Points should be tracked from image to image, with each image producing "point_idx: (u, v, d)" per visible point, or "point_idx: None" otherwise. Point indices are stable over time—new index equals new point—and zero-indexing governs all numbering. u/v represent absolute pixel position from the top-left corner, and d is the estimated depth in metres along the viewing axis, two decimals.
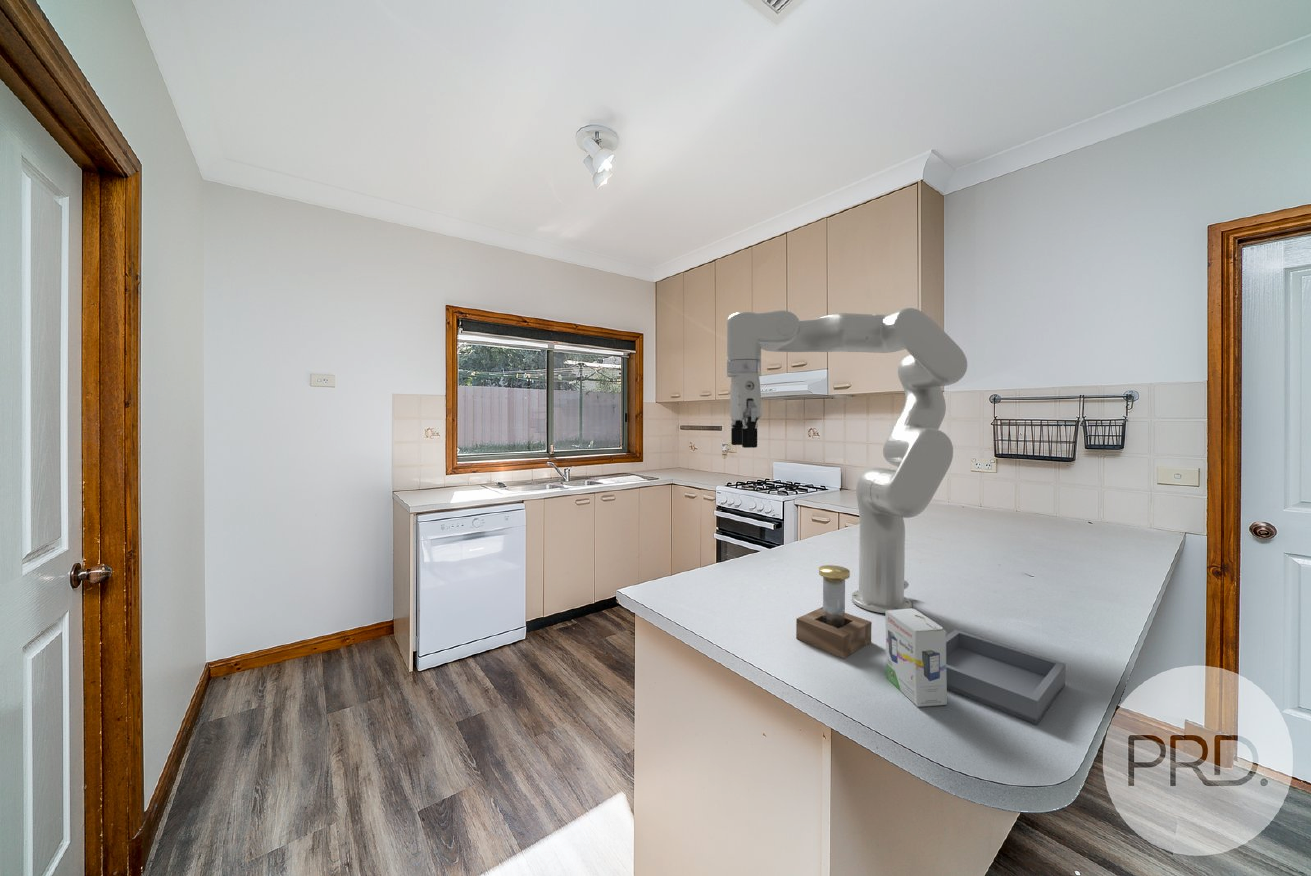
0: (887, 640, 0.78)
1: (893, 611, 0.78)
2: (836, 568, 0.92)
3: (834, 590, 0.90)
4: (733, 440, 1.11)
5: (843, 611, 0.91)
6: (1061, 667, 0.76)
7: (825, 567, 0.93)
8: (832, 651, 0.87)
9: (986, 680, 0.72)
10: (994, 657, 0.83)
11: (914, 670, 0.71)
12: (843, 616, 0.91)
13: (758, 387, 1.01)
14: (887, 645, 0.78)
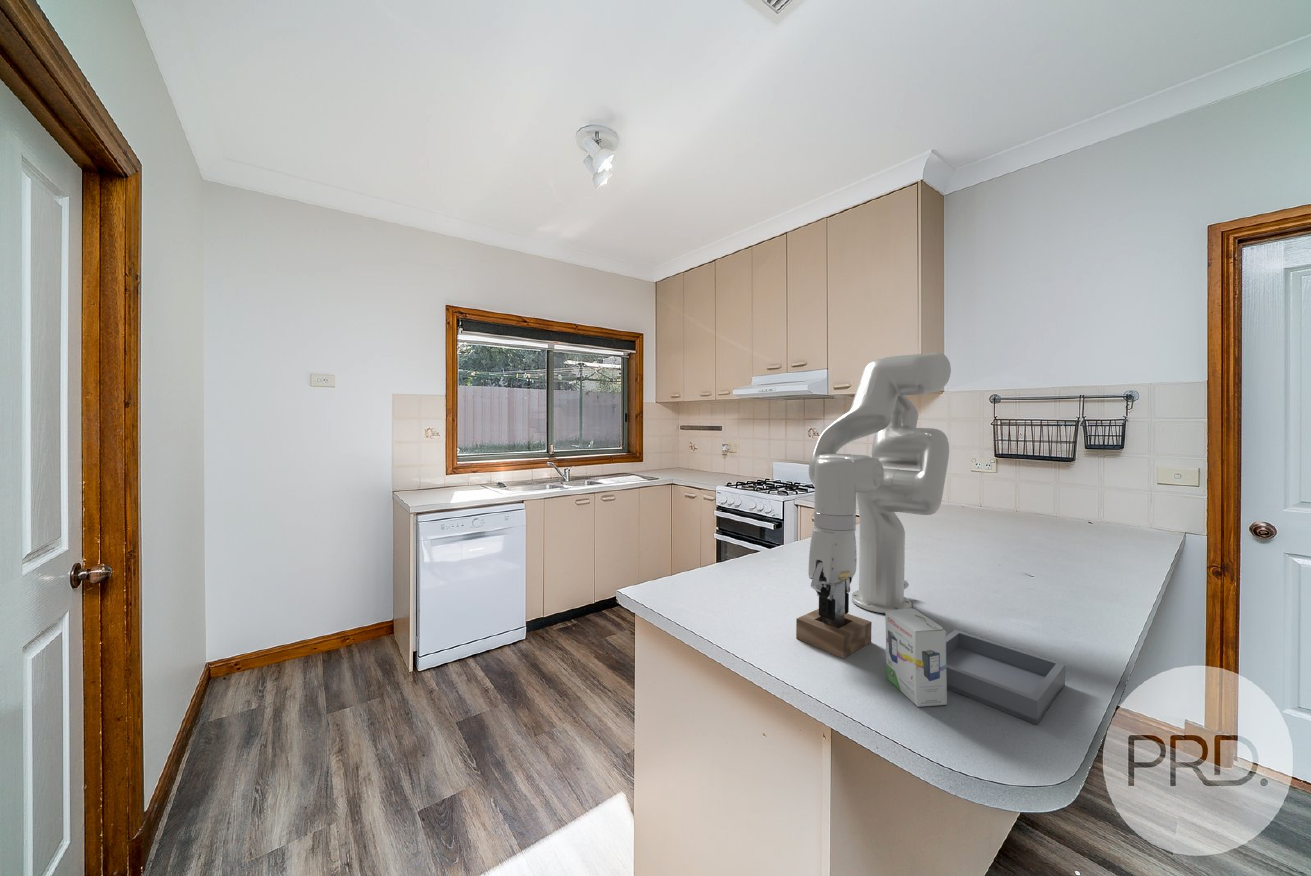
0: (887, 640, 0.78)
1: (893, 611, 0.78)
2: None
3: (834, 590, 0.90)
4: None
5: (843, 611, 0.91)
6: (1061, 667, 0.76)
7: None
8: (832, 651, 0.87)
9: (986, 680, 0.72)
10: (994, 657, 0.83)
11: (914, 670, 0.71)
12: (843, 616, 0.91)
13: None
14: (887, 645, 0.78)
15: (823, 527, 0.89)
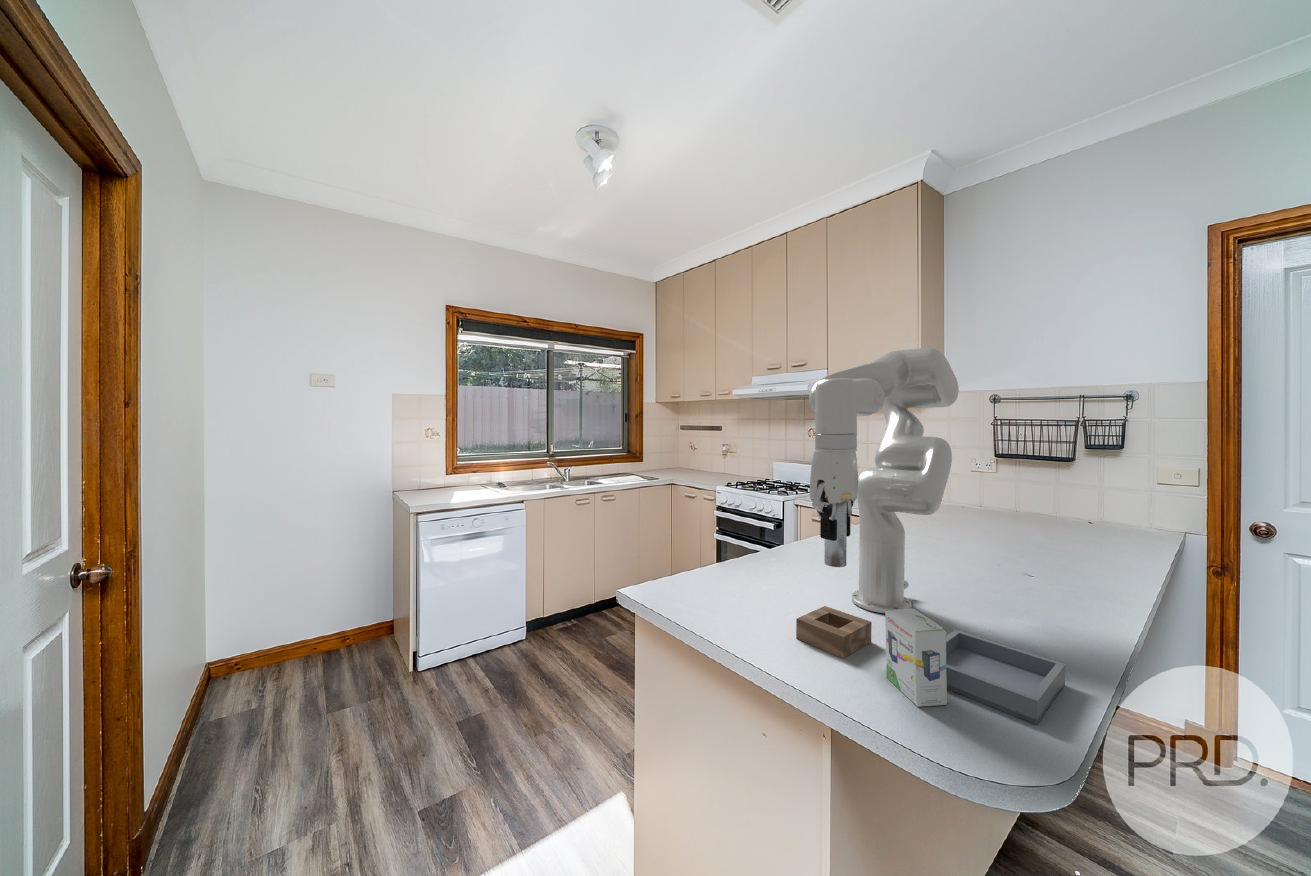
0: (887, 640, 0.78)
1: (893, 611, 0.78)
2: None
3: None
4: None
5: (845, 533, 0.90)
6: (1061, 667, 0.76)
7: None
8: (832, 651, 0.87)
9: (986, 680, 0.72)
10: (994, 657, 0.83)
11: (914, 670, 0.71)
12: (845, 538, 0.90)
13: None
14: (887, 645, 0.78)
15: (824, 447, 0.89)
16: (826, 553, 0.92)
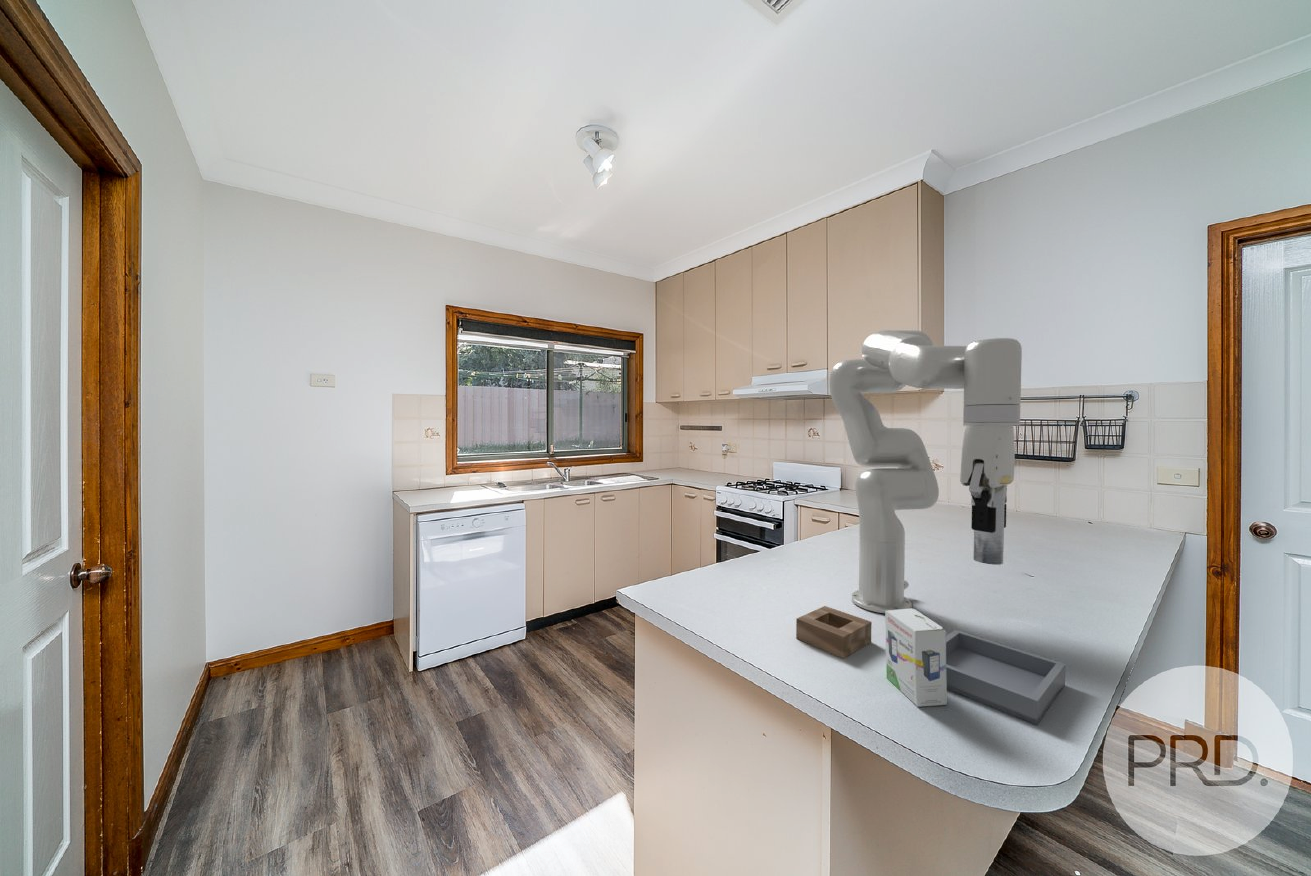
0: (887, 640, 0.78)
1: (893, 611, 0.78)
2: None
3: None
4: None
5: (1003, 524, 0.76)
6: (1061, 667, 0.76)
7: None
8: (832, 651, 0.87)
9: (986, 680, 0.72)
10: (994, 657, 0.83)
11: (913, 670, 0.71)
12: (1003, 530, 0.76)
13: None
14: (887, 645, 0.78)
15: (981, 420, 0.74)
16: (978, 548, 0.77)
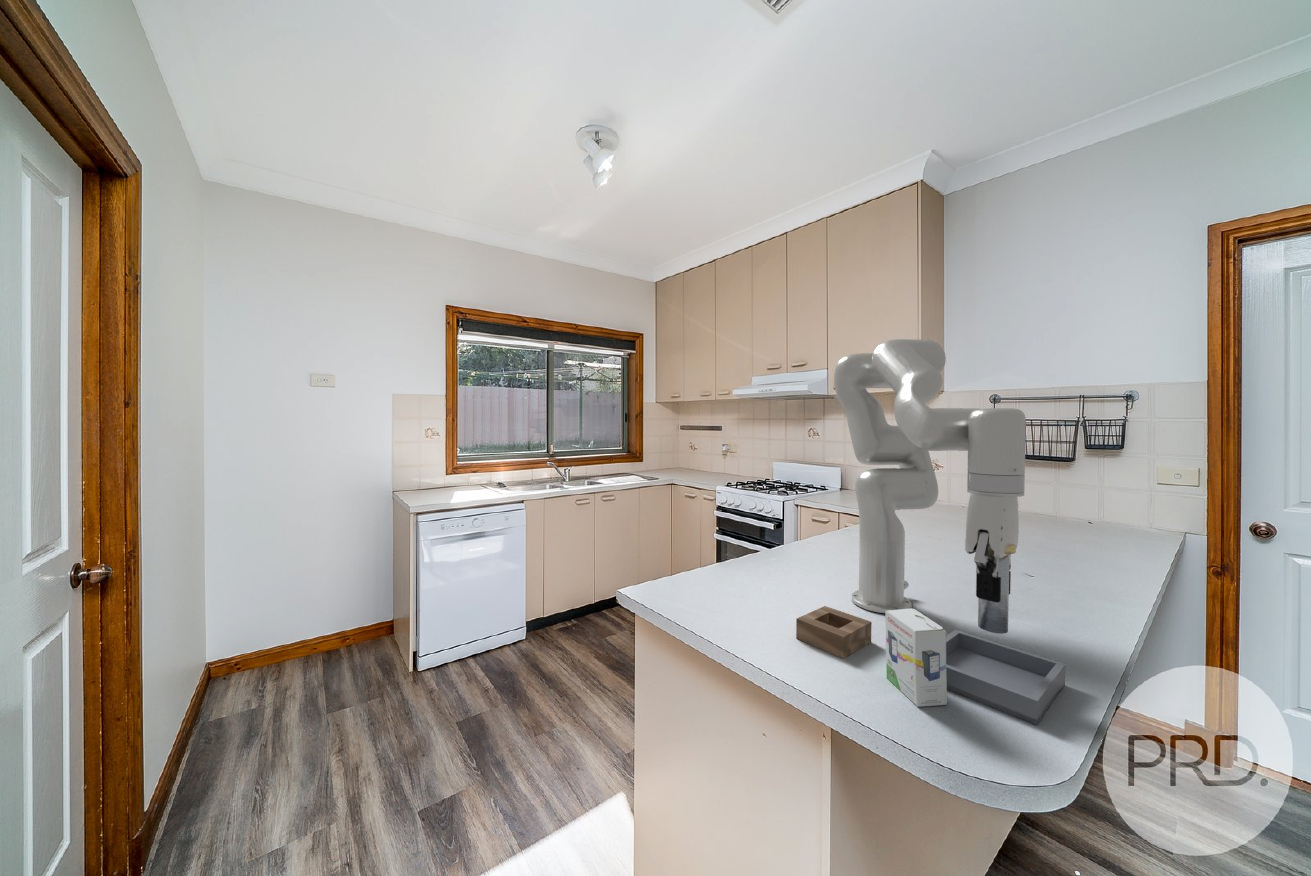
0: (887, 640, 0.78)
1: (893, 611, 0.78)
2: None
3: None
4: None
5: (1008, 592, 0.76)
6: (1061, 667, 0.76)
7: None
8: (832, 651, 0.87)
9: (986, 680, 0.72)
10: (994, 657, 0.83)
11: (914, 670, 0.71)
12: (1008, 599, 0.76)
13: None
14: (887, 645, 0.78)
15: (986, 490, 0.74)
16: (983, 615, 0.77)
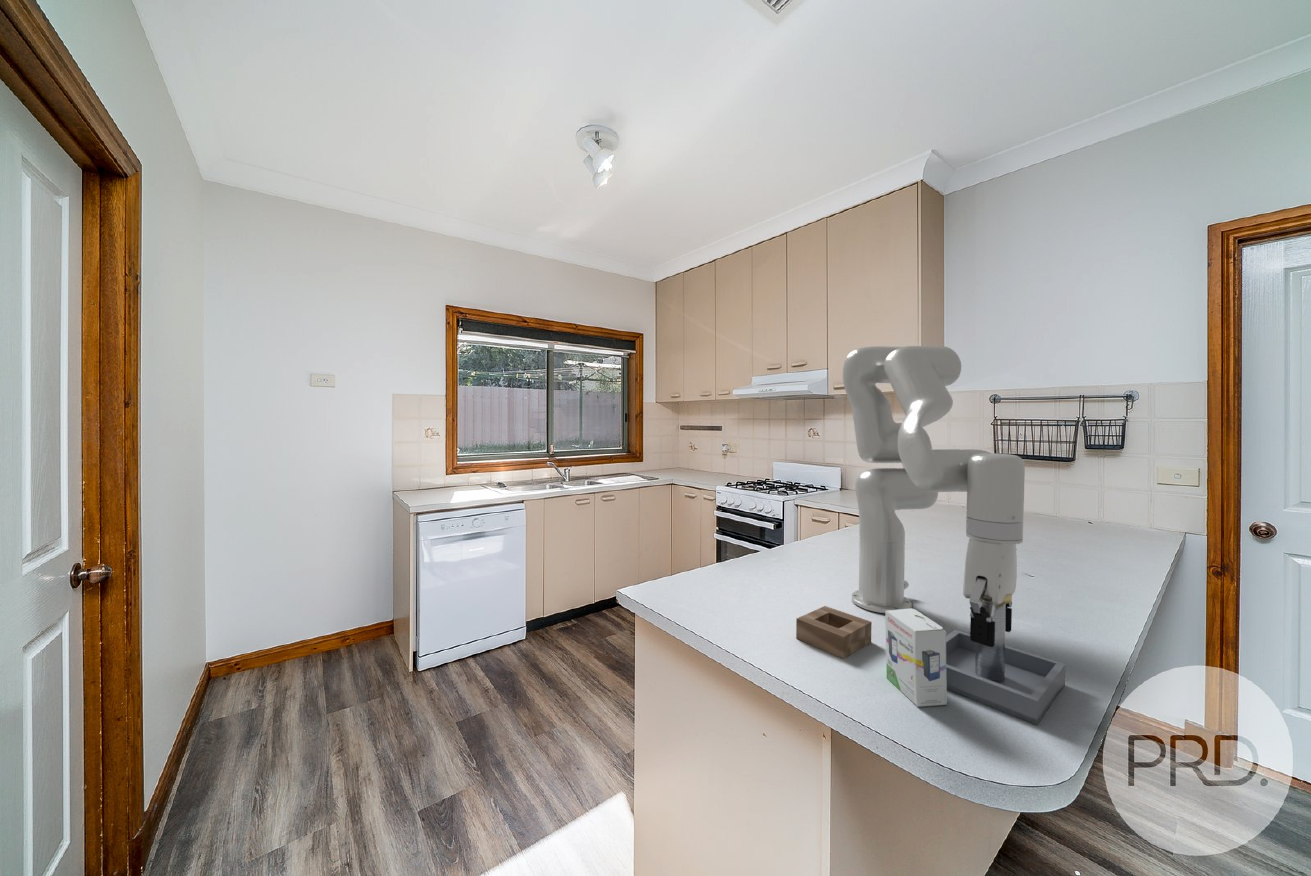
0: (887, 640, 0.78)
1: (893, 611, 0.78)
2: None
3: (994, 616, 0.76)
4: None
5: (1004, 641, 0.76)
6: (1061, 667, 0.76)
7: None
8: (832, 651, 0.87)
9: (986, 680, 0.72)
10: None
11: (914, 670, 0.71)
12: (1004, 647, 0.76)
13: None
14: (887, 645, 0.78)
15: (985, 536, 0.75)
16: (980, 663, 0.77)
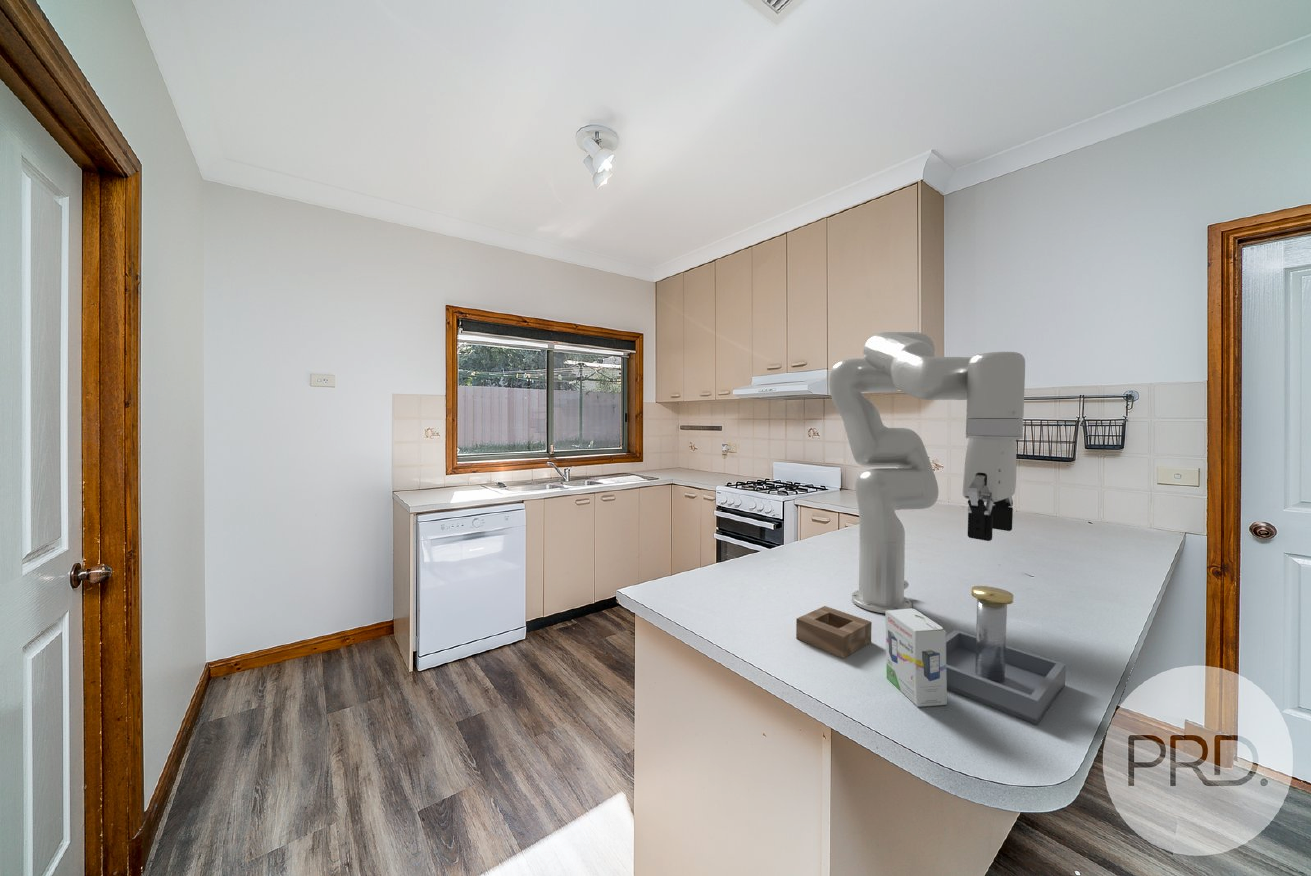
0: (887, 640, 0.78)
1: (893, 611, 0.78)
2: (994, 590, 0.78)
3: (995, 616, 0.76)
4: None
5: (1005, 641, 0.76)
6: (1061, 667, 0.76)
7: (979, 588, 0.79)
8: (832, 651, 0.87)
9: (986, 680, 0.72)
10: None
11: (914, 670, 0.71)
12: (1005, 647, 0.76)
13: None
14: (887, 645, 0.78)
15: (985, 434, 0.74)
16: (980, 663, 0.77)
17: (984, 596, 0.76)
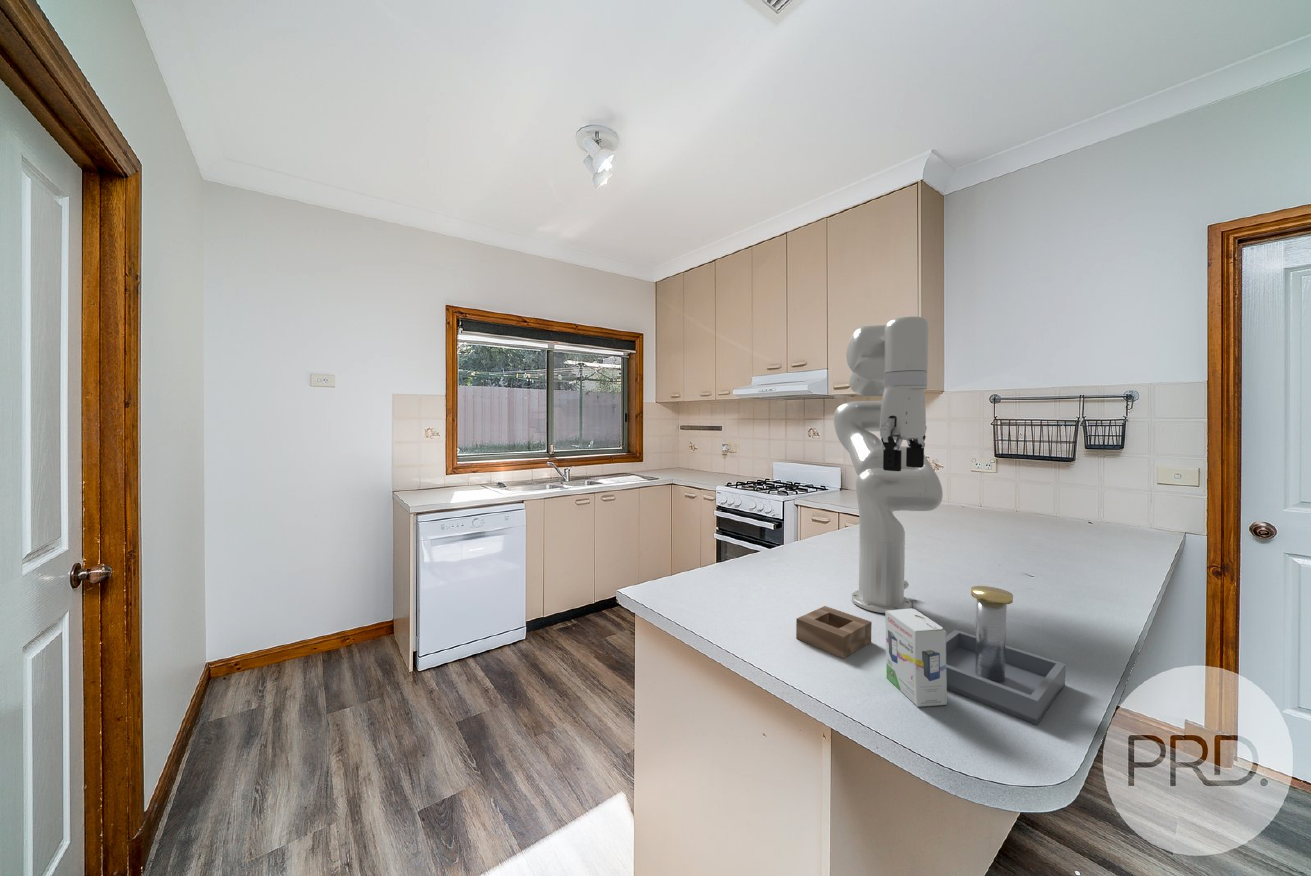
0: (887, 640, 0.78)
1: (893, 611, 0.78)
2: (993, 590, 0.78)
3: (995, 616, 0.76)
4: None
5: (1005, 641, 0.76)
6: (1061, 667, 0.76)
7: (978, 588, 0.79)
8: (832, 651, 0.87)
9: (986, 680, 0.72)
10: None
11: (914, 670, 0.71)
12: (1005, 647, 0.76)
13: None
14: (887, 645, 0.78)
15: (896, 384, 0.91)
16: (980, 663, 0.77)
17: (984, 596, 0.76)
